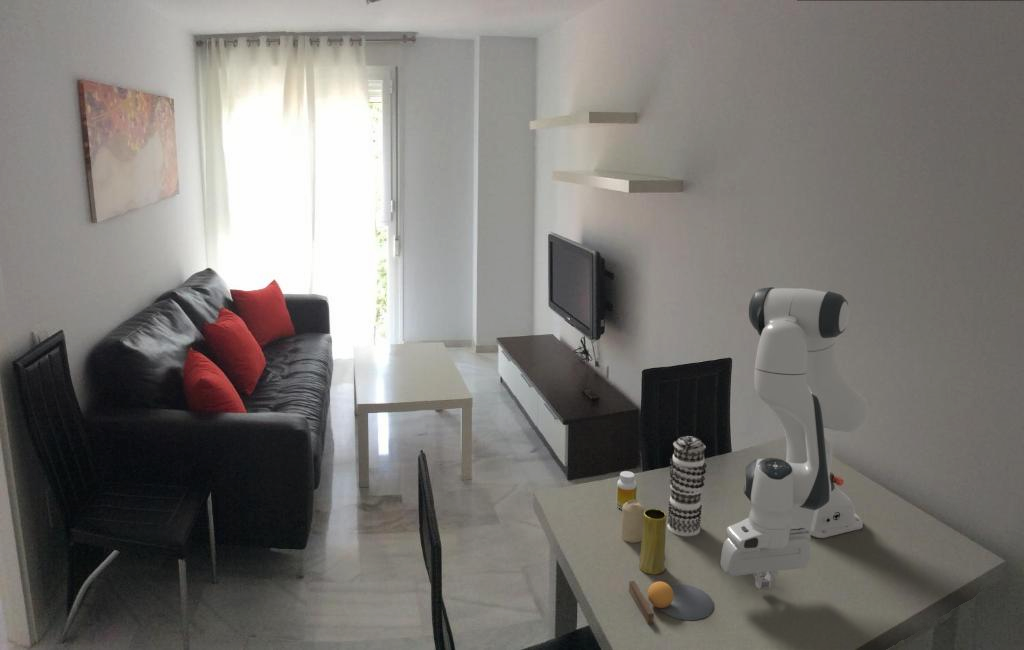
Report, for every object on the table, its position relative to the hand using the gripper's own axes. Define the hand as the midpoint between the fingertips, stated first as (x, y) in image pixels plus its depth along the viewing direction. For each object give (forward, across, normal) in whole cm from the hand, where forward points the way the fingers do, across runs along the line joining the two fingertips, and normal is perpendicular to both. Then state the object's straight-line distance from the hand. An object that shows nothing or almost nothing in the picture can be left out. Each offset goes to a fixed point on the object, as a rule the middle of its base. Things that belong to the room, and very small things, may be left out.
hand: (762, 586), depth 169 cm
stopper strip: (+2, +29, 0) cm, 29 cm away
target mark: (+2, +19, 0) cm, 19 cm away
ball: (-1, +25, 0) cm, 25 cm away
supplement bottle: (+2, +17, -44) cm, 47 cm away
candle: (+2, +21, -28) cm, 35 cm away
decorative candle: (+2, +6, -30) cm, 31 cm away
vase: (+2, +21, -14) cm, 25 cm away
